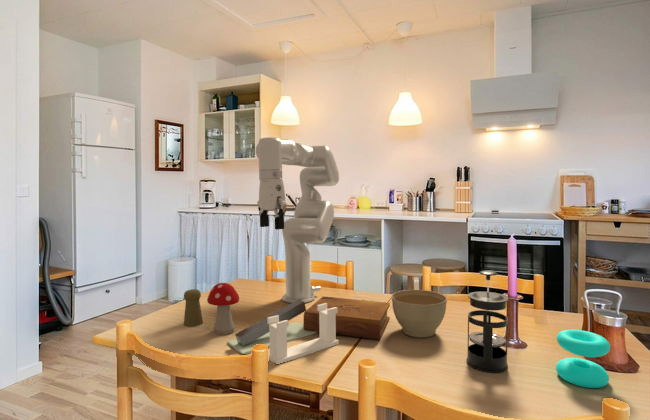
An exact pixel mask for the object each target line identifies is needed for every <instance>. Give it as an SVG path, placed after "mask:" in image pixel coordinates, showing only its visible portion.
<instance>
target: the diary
mask: <svg viewBox="0 0 650 420" xmlns="http://www.w3.org/2000/svg"><path fill="white" fill-rule="evenodd" d="M324 303H327V309H330V308H333V307H337V308H338V313H336V335H341V336H348V337H350V336H351V337H356V338H357V337H358V338H364V339H374V340H381V339H382V336H383V334H384V332H385V330H386V328H387V326H388V324H389V322H390V319H391V318H390V316H388V310H389V308H390V306H391V304H390V302H385V301H376V300H375V301H374V300H372V301H371V300H365V299H353V298H342V297H330V296H322V297H320V298H319V299H318V300H317V301H316V302H315V303H313V304H312V305H311V306H309V308H307V309H306V311H305V312H303V325H304V330H308V331H316V332H317V333H318V332H319V311H318V310H317V305H320V304H324ZM321 311H322V310H321Z"/></svg>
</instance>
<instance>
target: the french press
mask: <svg viewBox="0 0 650 420" xmlns="http://www.w3.org/2000/svg"><path fill="white" fill-rule="evenodd" d="M478 273H479V275H483V276H485V280H486V288H487V289H486V291H473V292H469V293H468V295H467V296H468V298H469V305H470V306H471V307H473V308H476V310H472V311H469V312H468V313H467V357H466V363H467V365H468V366H469V367H470V368H473V370H474V369H475V370H477V371H479V372H483V373H488V374H489V373H490V374H499V373H504V372H505V371H507V370H508V369H509V364H508V334H509V333H508V332H509V331H508V326H509V325H508V323H509V317H508V316H507V315H505V314H503V313H501V312H498V311H502V310H505V309H506V308H507V302H508V301H509V297H508V296H506V295H504V294H502V293H497V292H492V291H490V281H491V276H497V275H498V274H499V273H498V272H496V271H492V270H480V271H478ZM477 309H478V310H477ZM479 309H480V310H479ZM476 316H479V317H480V316H482V320H479V319H475V318H473V317H476ZM491 317H493V318H497V319H499V320H502V321H498V322H496V321H495V322H492V321H491V320H492V319H491ZM470 324H471V325H475V326H477V327H482V331H476V332H472V333H470ZM502 328H505V337H503V336H502V335H499V334H497V333H494V331H493V329H502ZM470 342H471V343H472V344H470ZM504 346H505V349H504V348H502V347H504Z"/></svg>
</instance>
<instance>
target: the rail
mask: <svg viewBox="0 0 650 420" xmlns="http://www.w3.org/2000/svg"><path fill="white" fill-rule="evenodd" d="M306 310H307V307H306V304H305V303H304V301H301V300H299V299H298V300H297V301H295V302H293V303H288V304H287V305H286V306H284V307H282V308H280V309H278V310H277V311H275V312H273V313H270V315H267V316H266V317H264V318H262V319H260V320H258V321H256V322H255V323H253V324H251V325H249V326H248V327H246V328H244V329H242V330H240V331H238V332H236V333H235V334H234V335H235V339H237V342H238V344H239V345H240V346H242V347H244V346H246V345H248V344H249V343H251V342H253V341H254V340H256V339H258V338H260V337H261V336H263V335H265V334H267V333H268V332H269V324H268V323H267V318H268V317H272V316H276V315H278V316H279V322H281V321H284V320H288V322H289V321H291V320H292V319H294V318H296V317H297V316H299V315H301V314H304V312H305V311H306Z"/></svg>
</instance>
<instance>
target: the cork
mask: <svg viewBox="0 0 650 420" xmlns="http://www.w3.org/2000/svg"><path fill="white" fill-rule="evenodd" d="M201 296H202V294H201V291H200V290H199V289H195V288H194V289H188V290H185V292H184V294H183V299H184V300H185V308H184V318H183V326H184V327H188V328H191V327H192V328H193V327H194V328H195V327H198V326H199V327H200V326H201V325H203V324H204V320H203V314H202V308H201V301H200V298H201Z"/></svg>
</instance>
